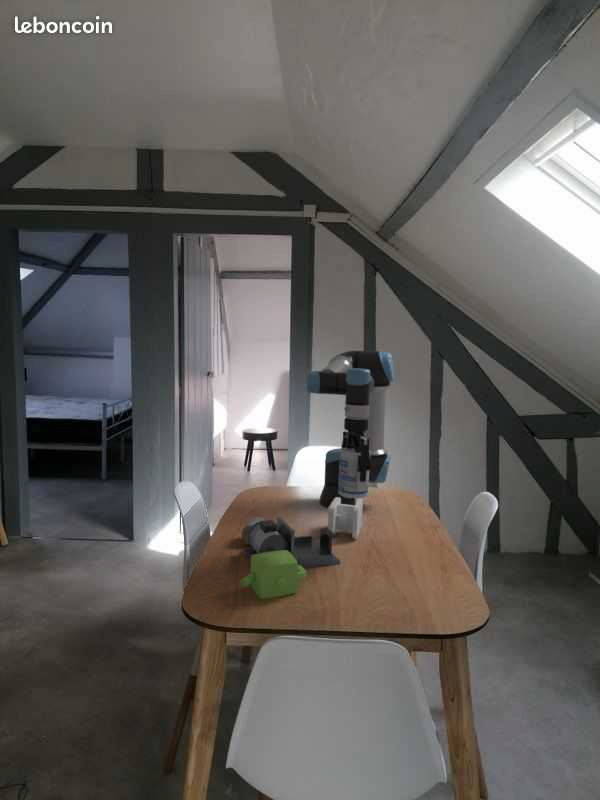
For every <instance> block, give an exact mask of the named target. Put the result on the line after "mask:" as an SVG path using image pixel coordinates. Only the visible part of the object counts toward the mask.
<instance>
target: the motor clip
mask: <svg viewBox="0 0 600 800" xmlns="http://www.w3.org/2000/svg"><path fill="white" fill-rule="evenodd" d="M319 533H320V535H319V540H318V539H315V540H313V536H312V535H311V534H310V535H302V536H301V535H299V536H295V535H296V531H295V530H294V528H293V527H291V526H290V525H289V524H288V523H287V522H286V521H284V519H282V517H280V516H277V517H276V522H275V521H274V520H273V519H267V520H266V519H265V521H260V522H258V523H256V524H254V525H253V526H252V527H251V528H250V530H249V532H248V542H249V544H250V545H249V547H243V548H242V552H243V554H244V555H245V557H246V558H247V560H249V562H250V563H251V555H254V554H259V553H265V552H271V551H279V550H288V551H289V552H290V553H291V554H292V556H293V557H294V558H295V559H296V561H297V562H298V565H301V566H302V567H303V568H304V569H309V568H317V567H325V566H334V565H341V560H340V559H339V558H338V557H337V556H336V555H335V554H334V553H332V552H333V551H332V547H333V545H332V544H333V539H336V538H337V534H336V533H335V534H334V533H333V532H332V531H331V530H329V529H328V527H325V528H320V532H319ZM250 546H251V547H250Z"/></svg>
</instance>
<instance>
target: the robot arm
mask: <svg viewBox="0 0 600 800" xmlns="http://www.w3.org/2000/svg"><path fill="white" fill-rule="evenodd" d="M394 380H395V371H394V359H393V355H392V353H390V352H387V351H380V350H378V351H377V350H376V351H375V350H349V351H345V352H342V353H341V352H340V353H338V354H337V355H334V356H333V357H331V359H330V360H329V362H328V364H327V365H326V366H325V367H324V368H322V369H321V370H320V371H318V370H312V371H311V370H310V371H309V372H307V376H306V389H307V390H306V391H307V392H308V393H310V394H316V395H318V394H320V395H339V396H345V400H344V401H345V403H344V404H345V405H344V408H343V409H344V416H345V418H344V426H343V427H344V430H345V431H343V432H342V443H341V447H340V448H334V449H330V450H328V451H327V452H326V453H325V459H324V484H323V488H322V490H321V494H320V496H319V504H320V505H322V506H323V507H325V508H328V507H330V505H331V503H332V501H333V499H335V497H338V498H341V504H346V505H356V503H357V501H356V500H357V498H347V497H343V496H341V495H340V494H339V493H338V484H339V466H340V453H341V449H342V448H354V450H355V451H356V452H357V453H361V456H358V467H359V469H358V470H357V490H356V491H357V492H363V491H365V487H366V471H369V483H372V484H383V483H385V482H386V480H387V477H388V474H389V473H388V471H389V468H390V463H391V461H390V460H391V455H389V454H388V450H387V449H386V447H385V446H384V443H385V442H384V438H385V421H386V420H385V419H386V397H387V396H386V394H387V393H386V392H387V389H388V388H389V387H390V386H391V383H392V382H394ZM369 451H370V454H369Z"/></svg>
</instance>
